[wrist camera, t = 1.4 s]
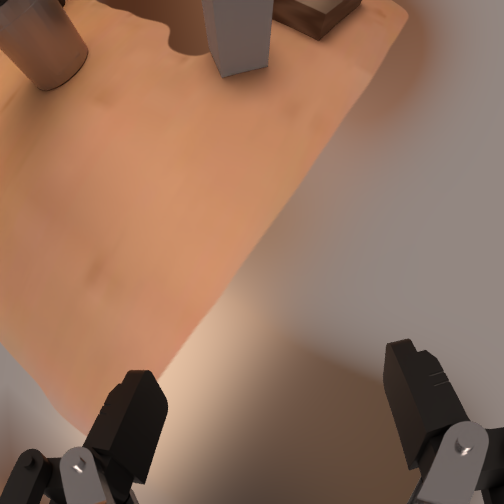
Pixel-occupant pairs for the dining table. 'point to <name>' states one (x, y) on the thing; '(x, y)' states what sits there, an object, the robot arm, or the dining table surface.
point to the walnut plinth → (312, 14)
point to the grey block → (238, 33)
